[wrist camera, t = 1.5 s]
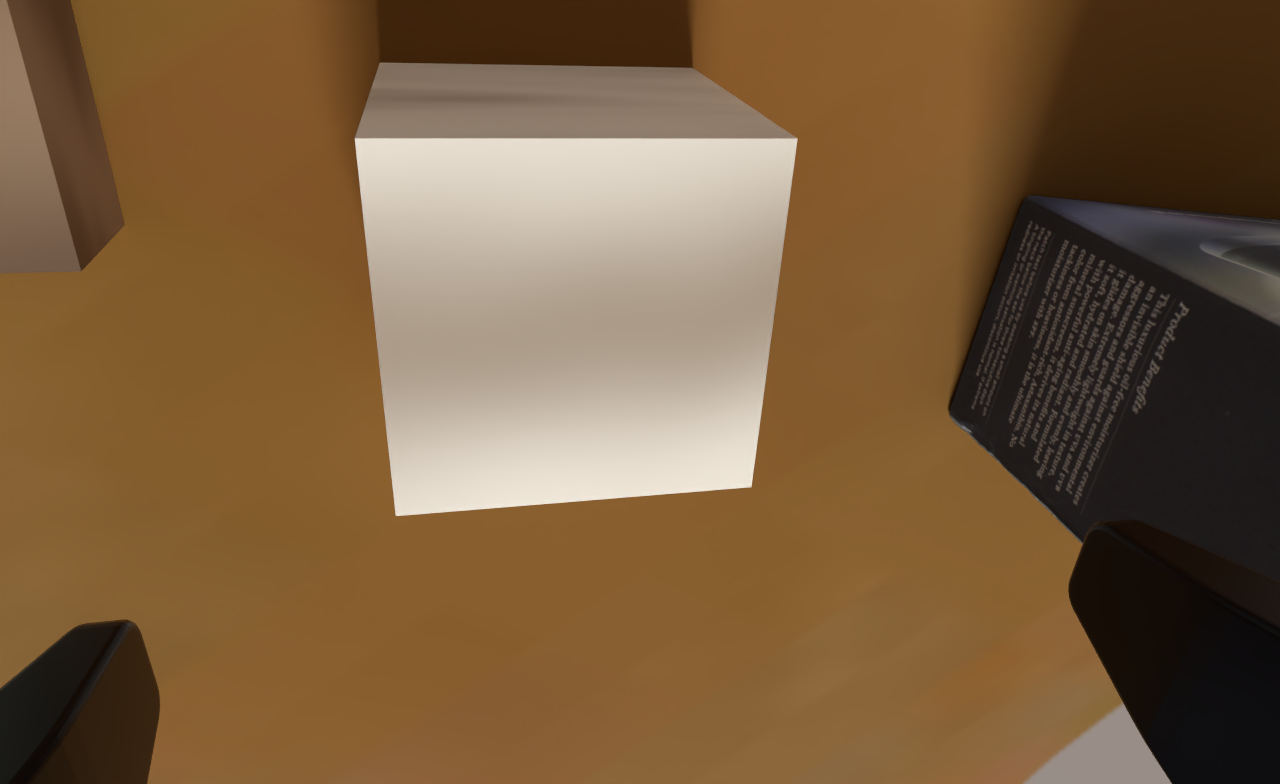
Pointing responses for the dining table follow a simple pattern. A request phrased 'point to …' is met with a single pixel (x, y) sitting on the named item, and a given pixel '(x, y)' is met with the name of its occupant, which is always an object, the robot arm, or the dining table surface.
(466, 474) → the cream cube
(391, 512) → the dining table surface
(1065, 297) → the small box
